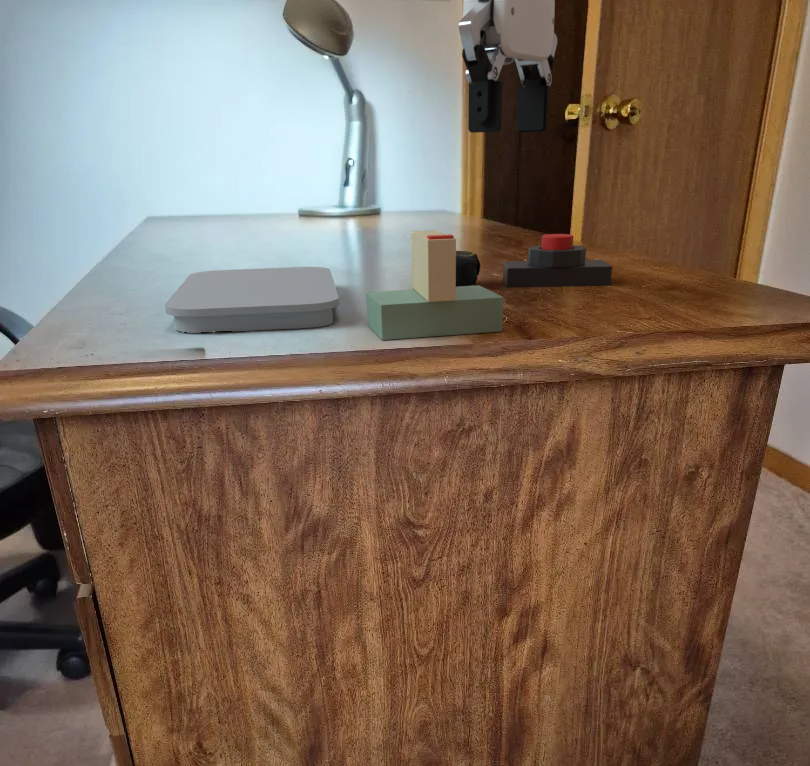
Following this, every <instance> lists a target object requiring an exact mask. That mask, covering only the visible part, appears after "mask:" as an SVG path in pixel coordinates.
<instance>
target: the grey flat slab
mask: <svg viewBox="0 0 810 766" xmlns="http://www.w3.org/2000/svg"><path fill="white" fill-rule="evenodd" d="M338 306H340V296H339V293H338V291H337V287H336V284H335V281H334V278H333V274H332V270H331V268H328V267H323V266H291V267H268V268H267V267H266V268H242V269H239V268H238V269H216V270H214V269H213V270H205V271H198V272H192V273H190V274H189V275H188V276H187V277H186V279H185V280H183V282H182V283H181V285H180V286H179V287H178V288H177V289H176V290H175V292H174V293H173V294H172V295H171V297H169V299H168V300H167V301H166V303H165V304H164V309H165V313H166V314H167V315H169V316H173V318H174V319H173V320H174V326H175V331H177V330H178V331H177V332H179V331H181V332H180V333H184V332H187V333H186V334H202V333H201V332H211V333H214V332H213V331H232V332H251V331H252V332H253V331H272V330H293V329H313V328H320V327H326V326H329V325H331V324H333V323H334V314H333V313H334V312H333V309H334V308H336V307H338Z"/></svg>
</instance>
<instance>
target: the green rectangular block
mask: <svg viewBox="0 0 810 766" xmlns="http://www.w3.org/2000/svg"><path fill="white" fill-rule="evenodd" d="M365 301H366V303H365V304H366V322H367V326H368V327H369V328H370V329H371V330H372V331H373V333H375V334H376V336H378V337H379V339H380V340H381V341H390V340H391V341H393V340H403V339H405V340H406V339H417V338H418V339H419V338H432V337H446V336H447V337H448V336H461V335H473V334H487V333H498V332H499V333H501V332H503V323H504V321H503V320H504V296H502V295H499V294H497V293H496V292H494V291H491V290H490V289H487V288H485V287H483V286H482V285H478V284H477V285H459V286H456V300H455V301H438V302H428V301H427V300H426V299H425V298H423V297H422V296H421V295H420V294H419V293H418V292H417V291H415V290H414V289H413V288H412V289H411V288H410V289H397V290H395V289H394V290H381V291H366V292H365Z"/></svg>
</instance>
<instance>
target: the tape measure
mask: <svg viewBox="0 0 810 766" xmlns="http://www.w3.org/2000/svg"><path fill="white" fill-rule="evenodd" d="M480 271H481V262H480V260H479V256H478V254H477V253H475V252H473V251H467V250H456V287H458V286H476V284H477V281H478V277H479V274H480Z"/></svg>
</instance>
